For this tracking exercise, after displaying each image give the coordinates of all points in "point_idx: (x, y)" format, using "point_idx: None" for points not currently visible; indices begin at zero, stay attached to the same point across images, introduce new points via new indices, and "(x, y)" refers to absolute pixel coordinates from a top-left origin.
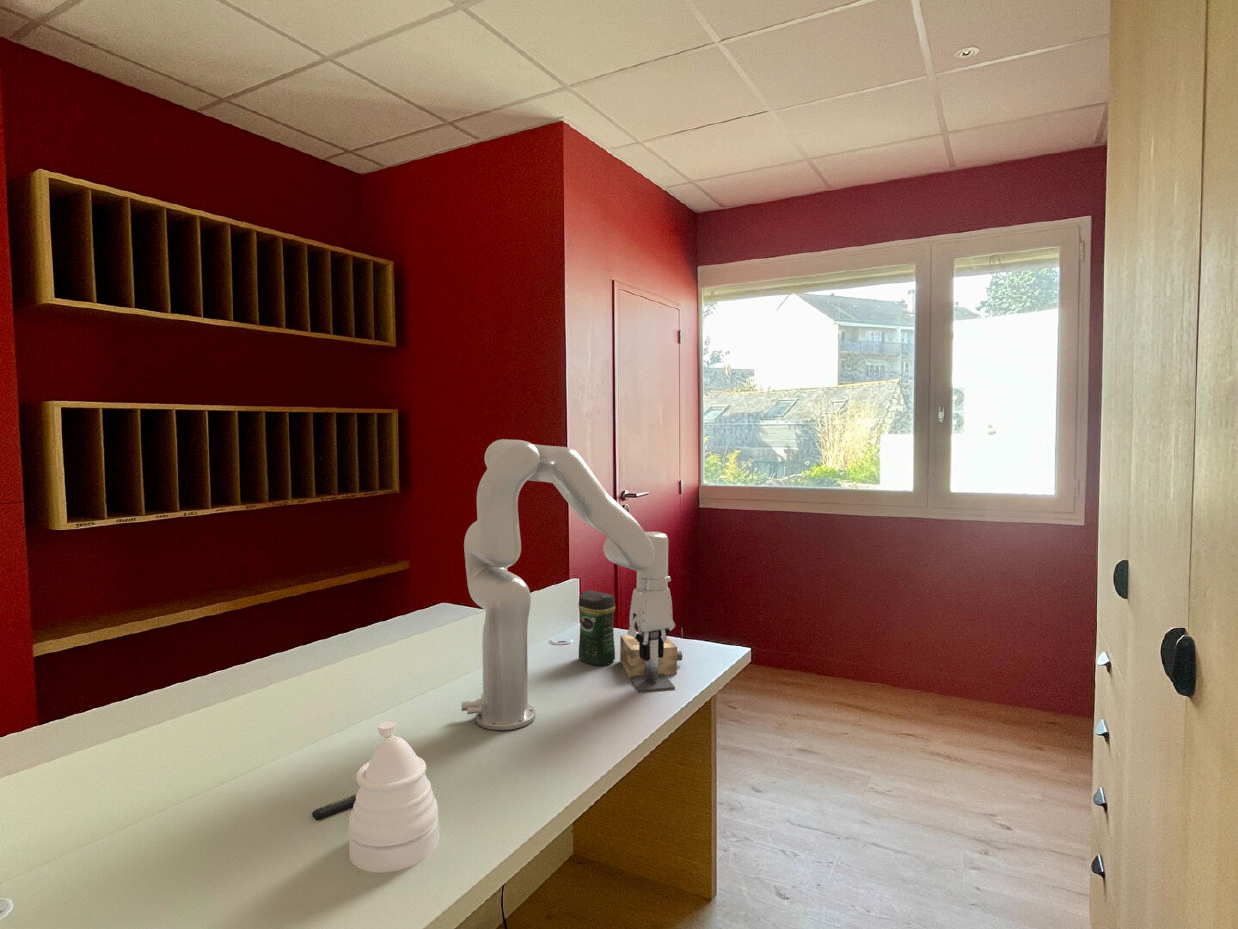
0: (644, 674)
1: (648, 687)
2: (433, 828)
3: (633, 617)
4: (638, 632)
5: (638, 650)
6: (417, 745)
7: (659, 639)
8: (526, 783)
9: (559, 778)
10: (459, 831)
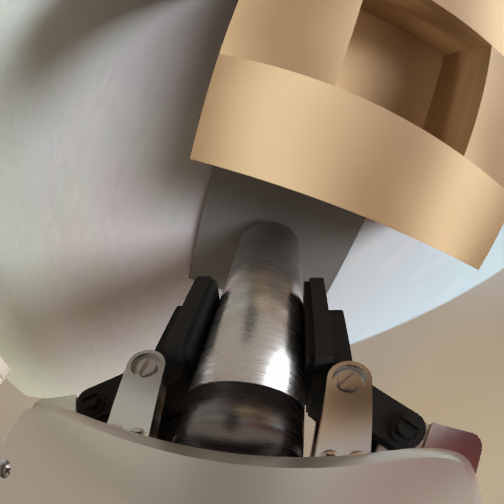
0: (240, 243)
1: None
2: (3, 378)
3: (20, 498)
4: (113, 417)
5: (247, 174)
6: None
7: (309, 409)
8: (29, 365)
9: (50, 378)
10: (13, 369)
